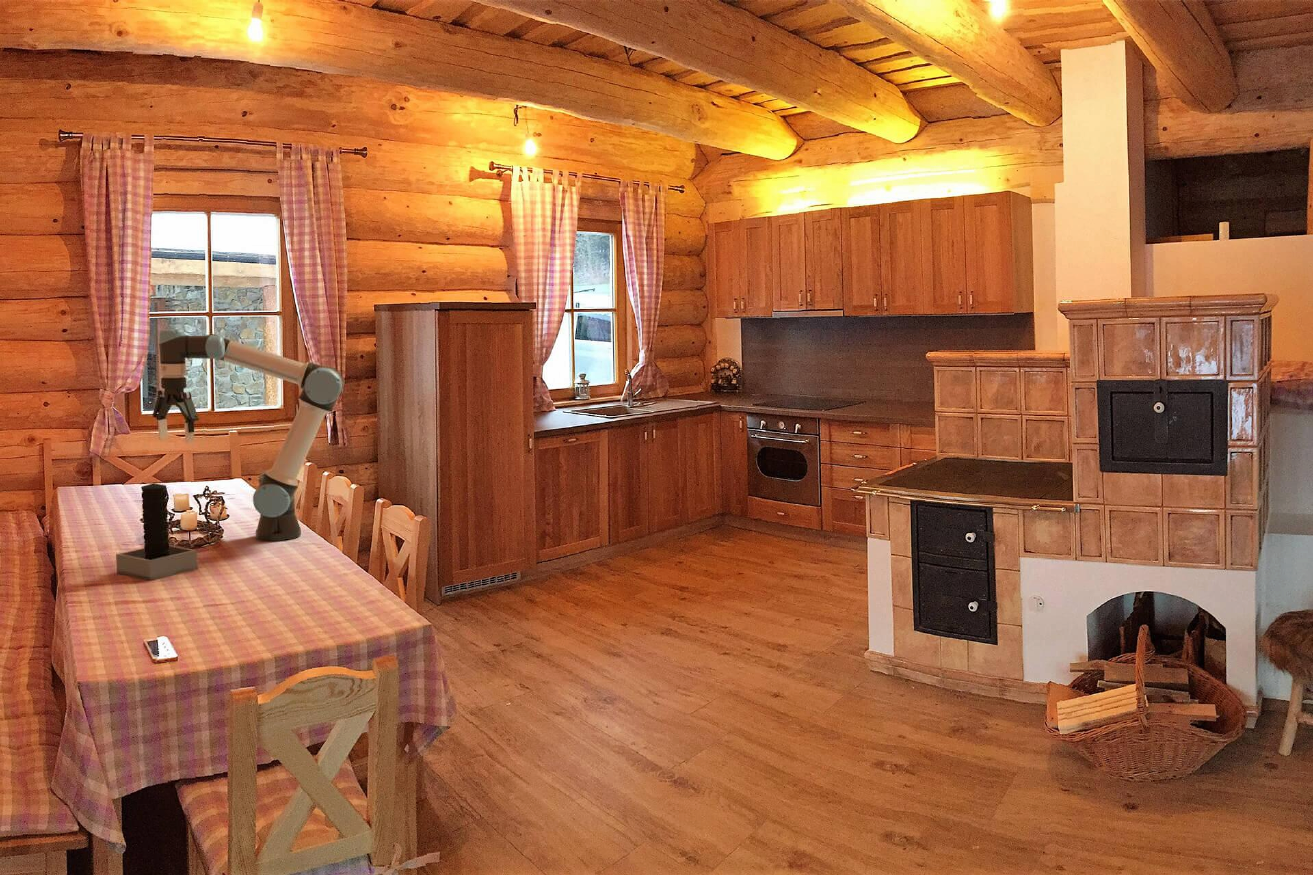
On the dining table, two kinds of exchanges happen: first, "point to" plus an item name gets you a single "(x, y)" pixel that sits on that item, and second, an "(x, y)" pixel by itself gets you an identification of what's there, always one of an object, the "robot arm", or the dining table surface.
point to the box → (156, 563)
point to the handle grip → (155, 521)
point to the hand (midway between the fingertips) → (176, 440)
